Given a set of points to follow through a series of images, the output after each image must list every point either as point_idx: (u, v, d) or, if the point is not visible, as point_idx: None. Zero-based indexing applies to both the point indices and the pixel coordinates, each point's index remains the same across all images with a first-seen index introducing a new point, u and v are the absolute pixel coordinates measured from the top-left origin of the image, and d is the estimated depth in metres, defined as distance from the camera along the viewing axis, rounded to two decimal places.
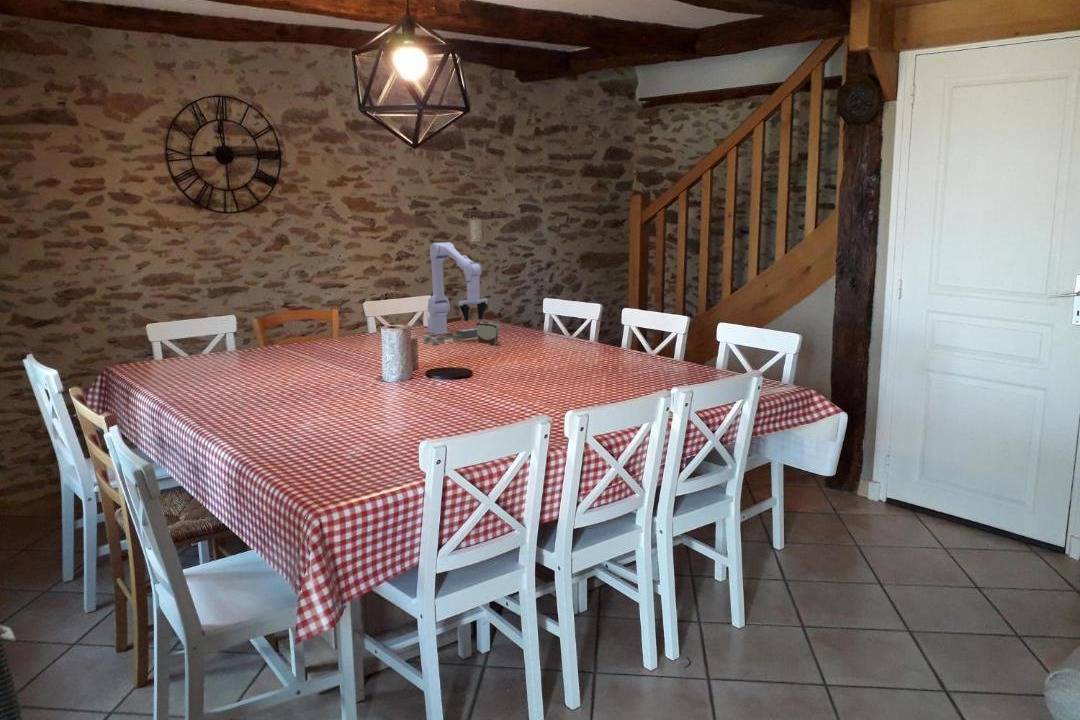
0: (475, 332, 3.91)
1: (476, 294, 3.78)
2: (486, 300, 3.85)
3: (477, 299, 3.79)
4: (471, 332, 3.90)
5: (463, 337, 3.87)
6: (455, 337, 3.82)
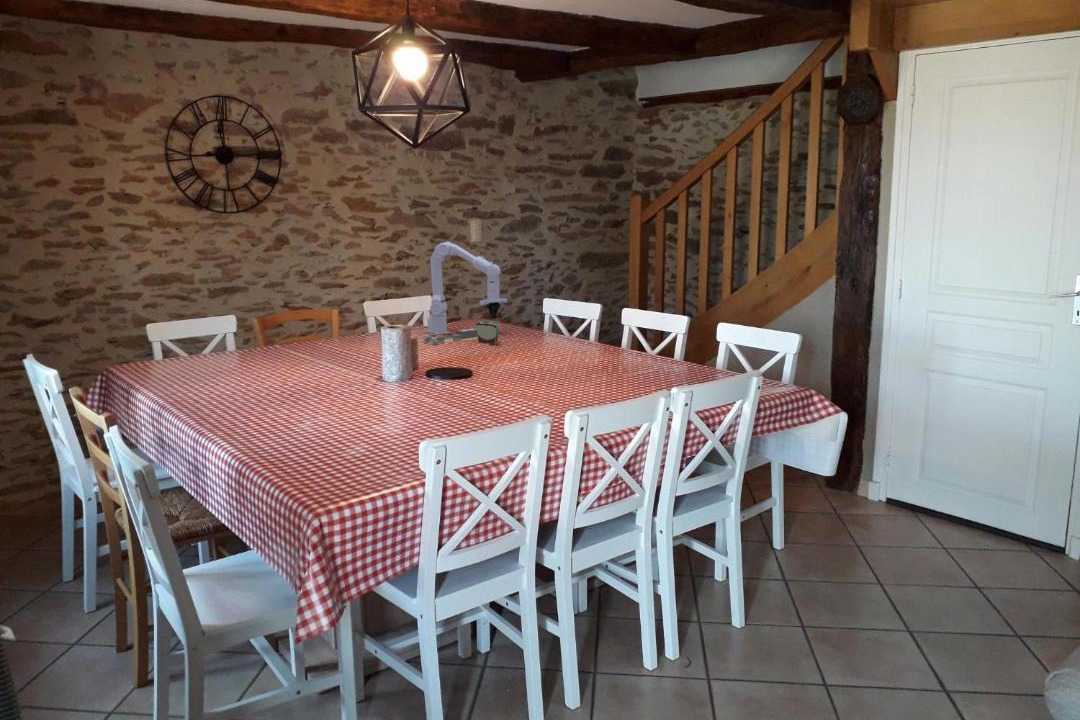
0: (475, 332, 3.91)
1: (496, 293, 3.94)
2: (505, 300, 4.01)
3: (497, 299, 3.95)
4: (471, 332, 3.90)
5: (463, 337, 3.87)
6: (455, 337, 3.82)
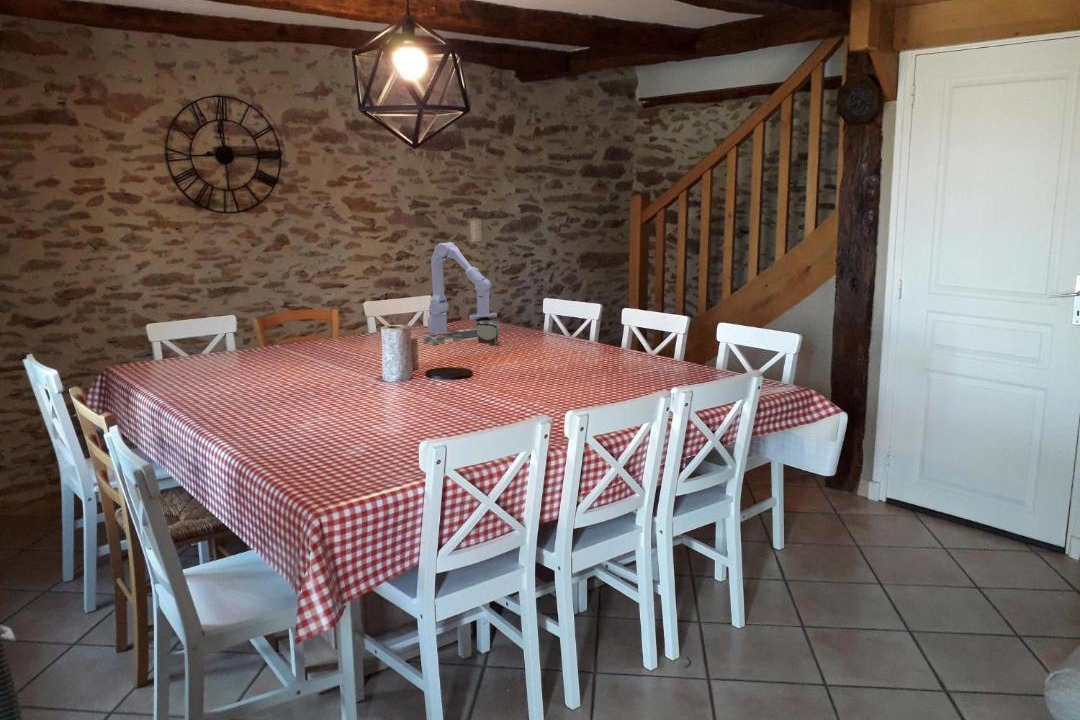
0: (472, 332, 3.90)
1: (486, 308, 3.92)
2: (495, 314, 3.98)
3: (487, 313, 3.93)
4: (468, 332, 3.89)
5: None
6: (455, 337, 3.82)
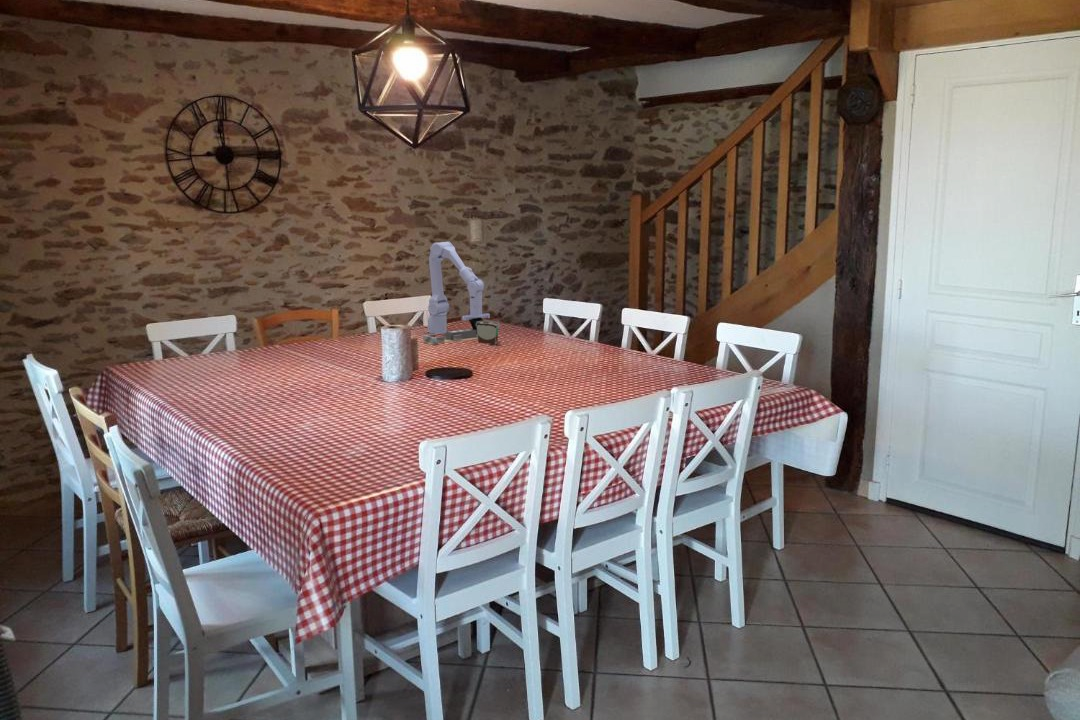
0: (465, 333, 3.88)
1: (479, 309, 3.90)
2: (488, 315, 3.96)
3: (480, 314, 3.91)
4: (461, 333, 3.86)
5: (452, 338, 3.84)
6: (455, 337, 3.82)
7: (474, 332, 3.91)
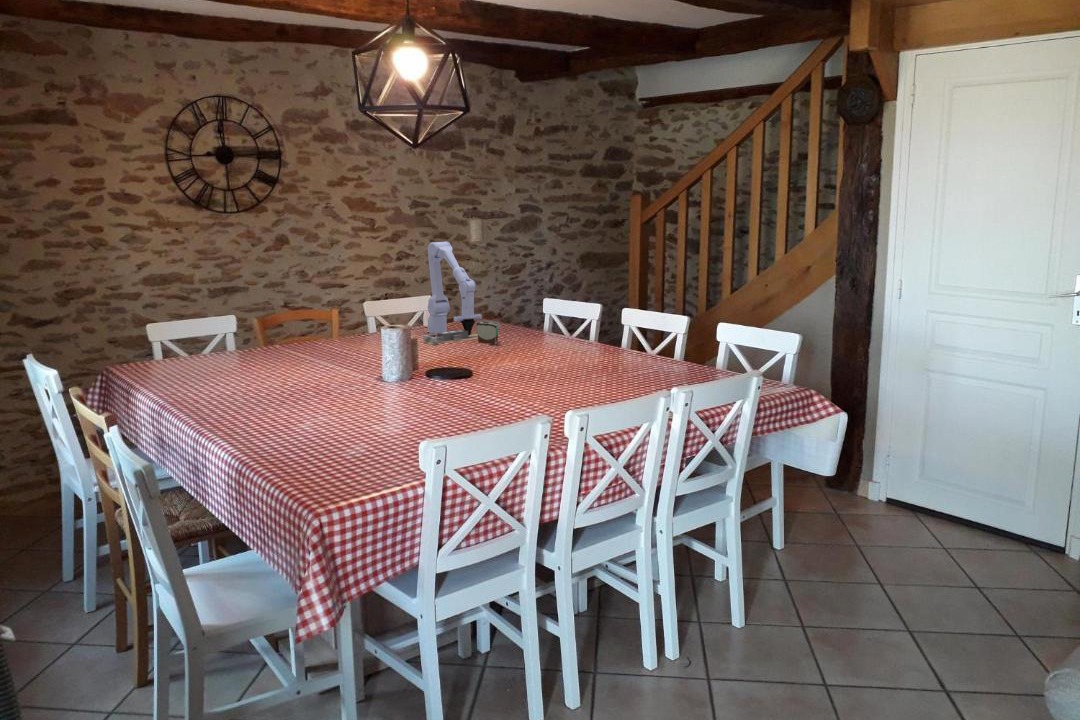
0: (456, 334, 3.85)
1: (471, 310, 3.87)
2: (480, 316, 3.93)
3: (471, 315, 3.88)
4: (452, 334, 3.83)
5: (444, 339, 3.81)
6: (455, 337, 3.82)
7: (466, 333, 3.88)
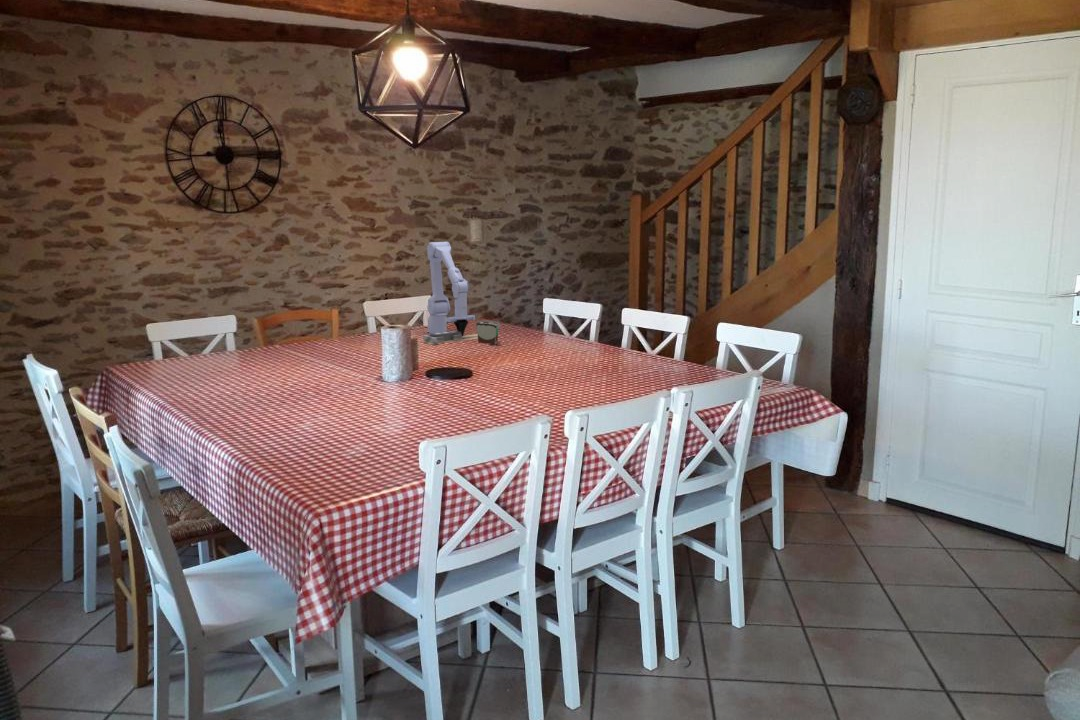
0: (449, 335, 3.83)
1: (464, 310, 3.84)
2: (473, 316, 3.91)
3: (464, 316, 3.85)
4: (445, 335, 3.81)
5: None
6: (455, 337, 3.82)
7: (459, 334, 3.86)
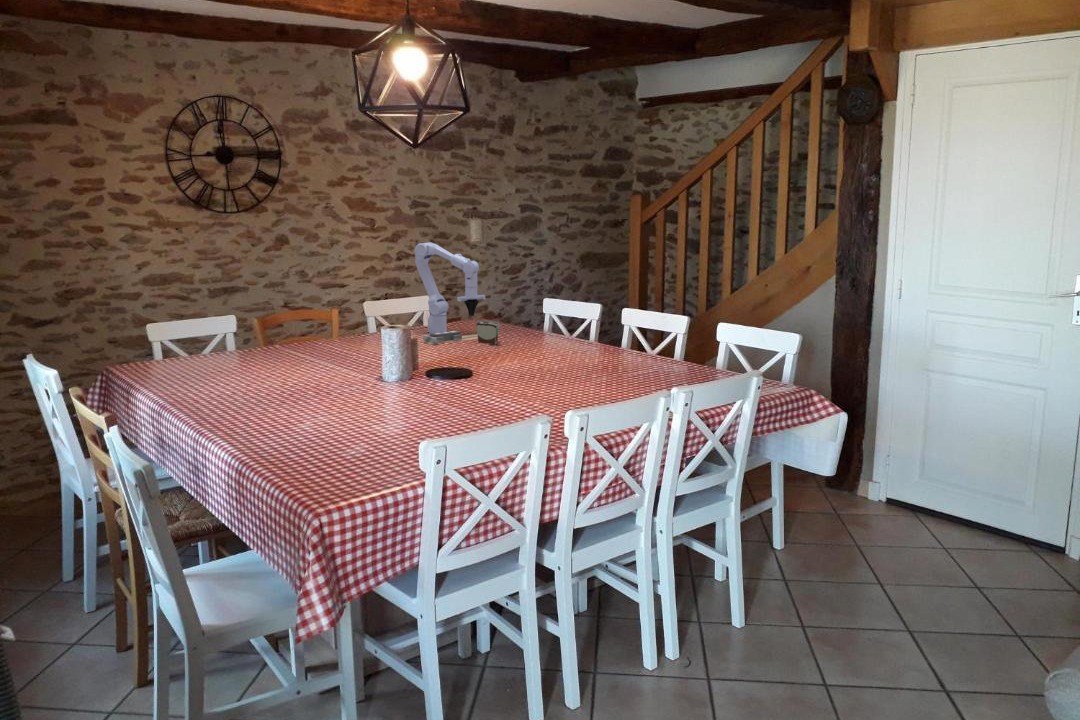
0: (449, 335, 3.83)
1: (474, 290, 3.92)
2: (484, 296, 3.98)
3: (475, 295, 3.93)
4: (445, 335, 3.81)
5: None
6: (455, 337, 3.82)
7: (459, 334, 3.86)
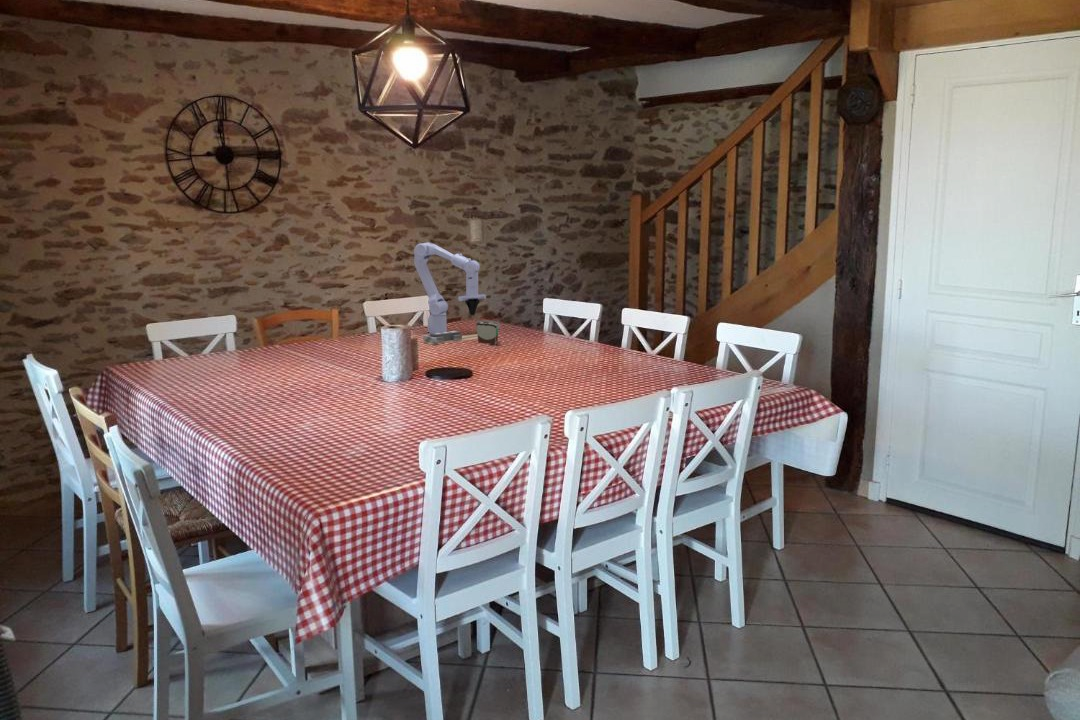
0: (449, 335, 3.83)
1: (475, 289, 3.94)
2: (484, 296, 4.00)
3: (476, 295, 3.95)
4: (445, 335, 3.81)
5: None
6: (455, 337, 3.82)
7: (459, 334, 3.86)
